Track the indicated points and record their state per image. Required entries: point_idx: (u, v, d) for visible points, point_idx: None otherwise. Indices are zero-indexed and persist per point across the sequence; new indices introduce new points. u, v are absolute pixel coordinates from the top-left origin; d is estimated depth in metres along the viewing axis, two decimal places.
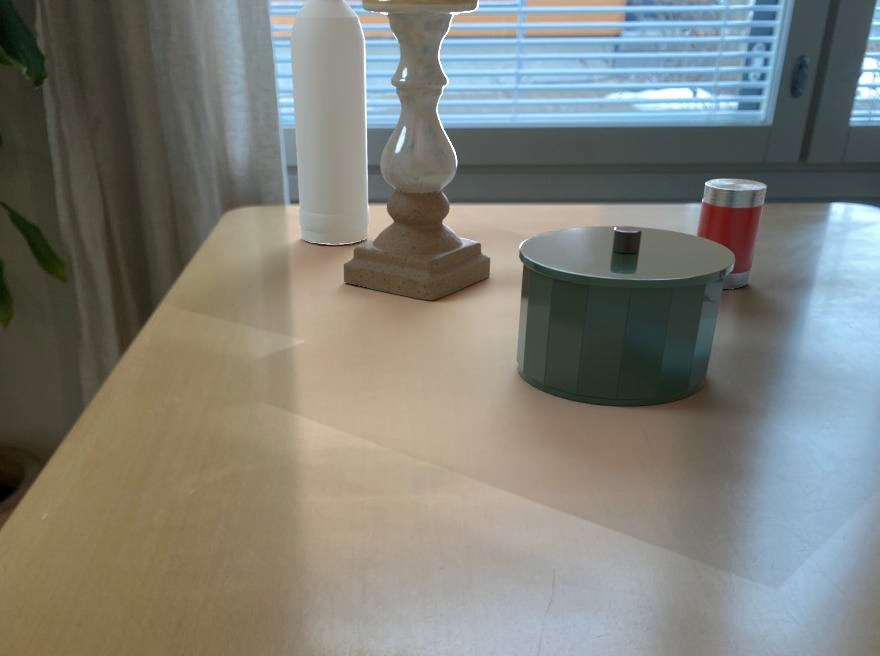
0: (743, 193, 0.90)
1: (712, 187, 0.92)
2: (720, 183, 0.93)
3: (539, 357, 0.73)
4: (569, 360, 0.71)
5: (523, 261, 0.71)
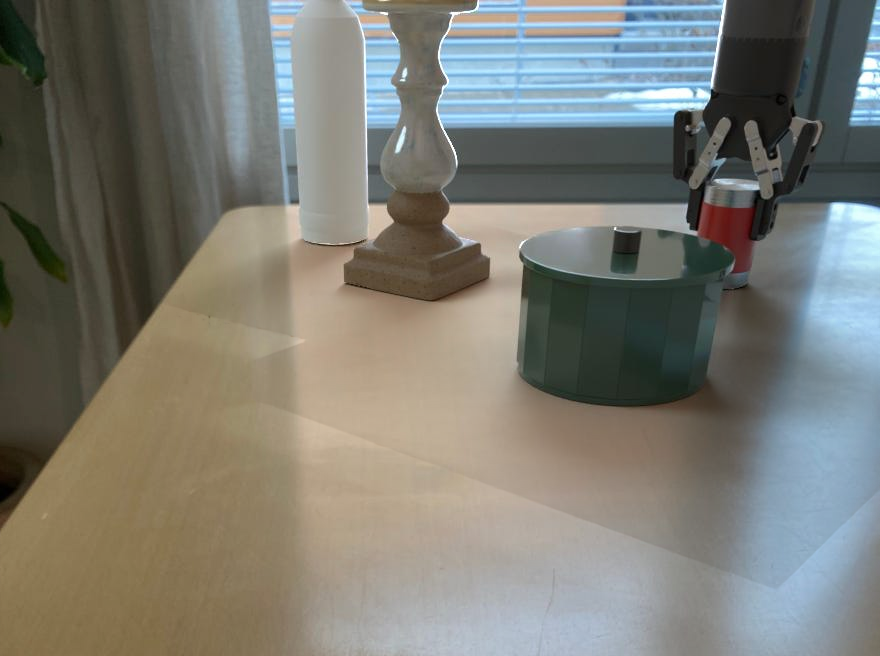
0: (743, 192, 0.90)
1: (712, 187, 0.92)
2: (720, 183, 0.93)
3: (539, 357, 0.73)
4: (569, 360, 0.71)
5: (523, 261, 0.71)
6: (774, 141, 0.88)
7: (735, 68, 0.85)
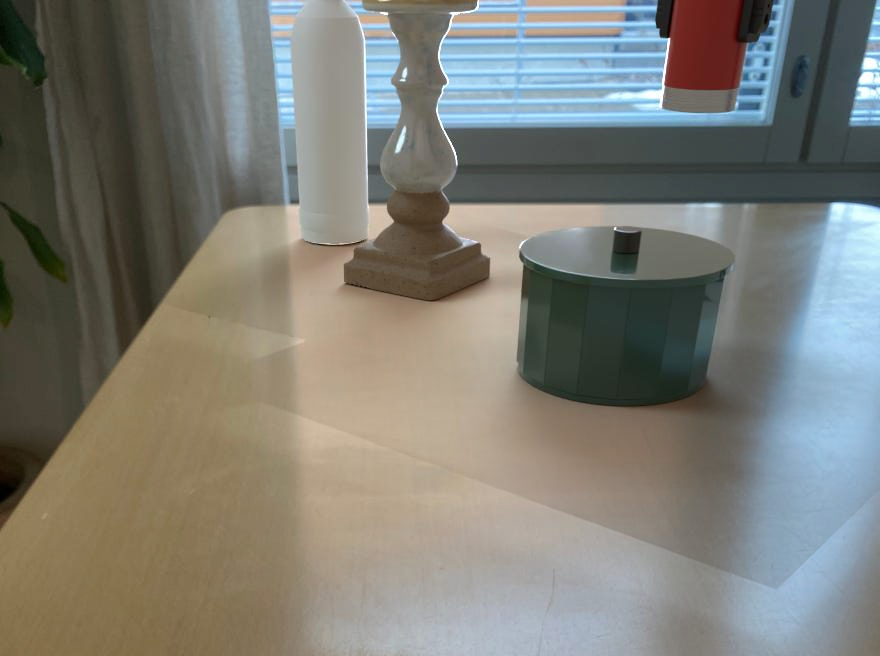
0: None
1: None
2: None
3: (539, 357, 0.73)
4: (569, 360, 0.71)
5: (523, 261, 0.71)
6: None
7: None
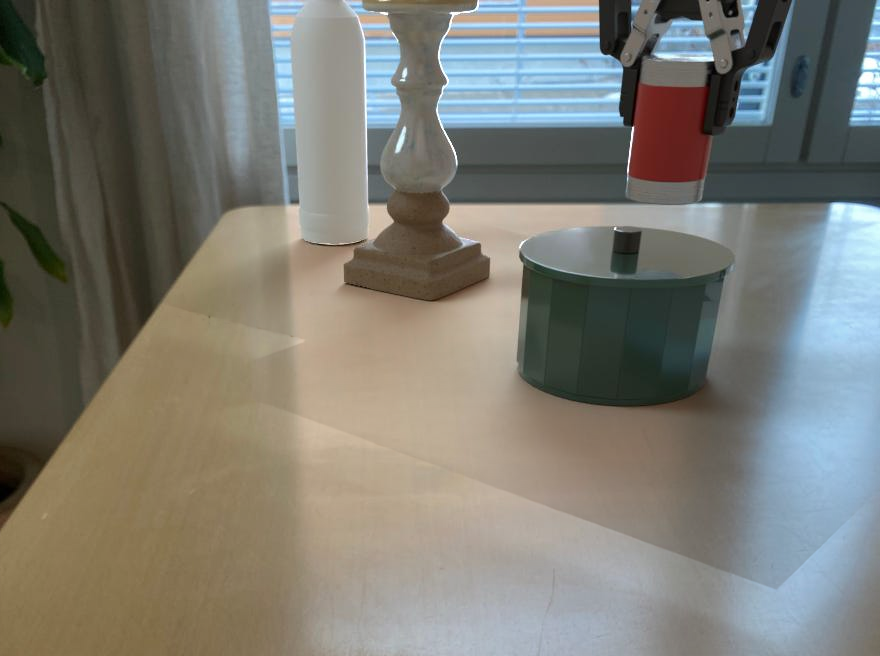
0: (691, 65, 0.66)
1: (650, 60, 0.67)
2: (662, 57, 0.68)
3: (539, 357, 0.73)
4: (569, 360, 0.71)
5: (523, 261, 0.71)
6: None
7: None
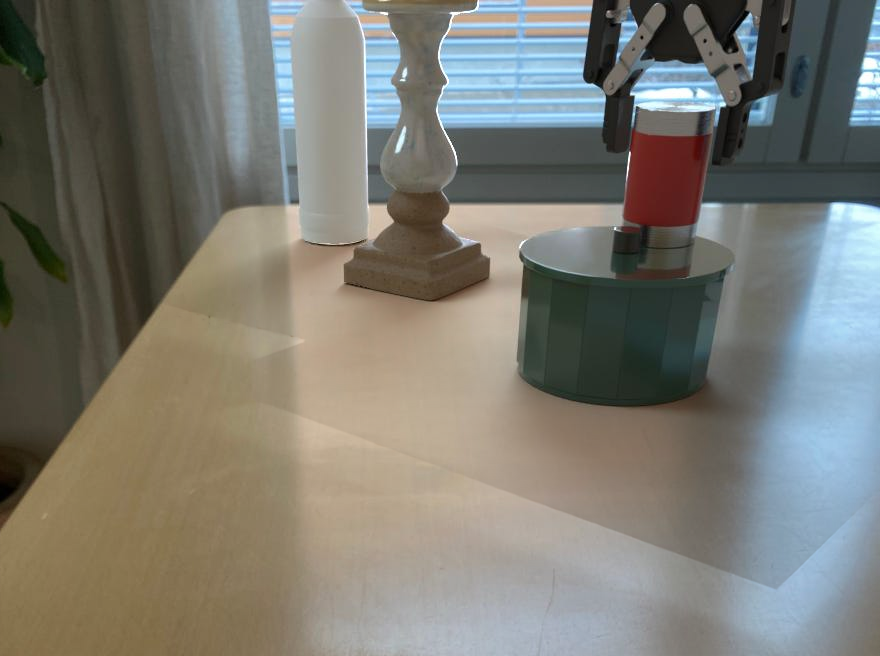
0: (683, 115, 0.67)
1: (643, 109, 0.69)
2: (655, 105, 0.70)
3: (539, 357, 0.73)
4: (569, 360, 0.71)
5: (523, 261, 0.71)
6: (724, 34, 0.65)
7: None
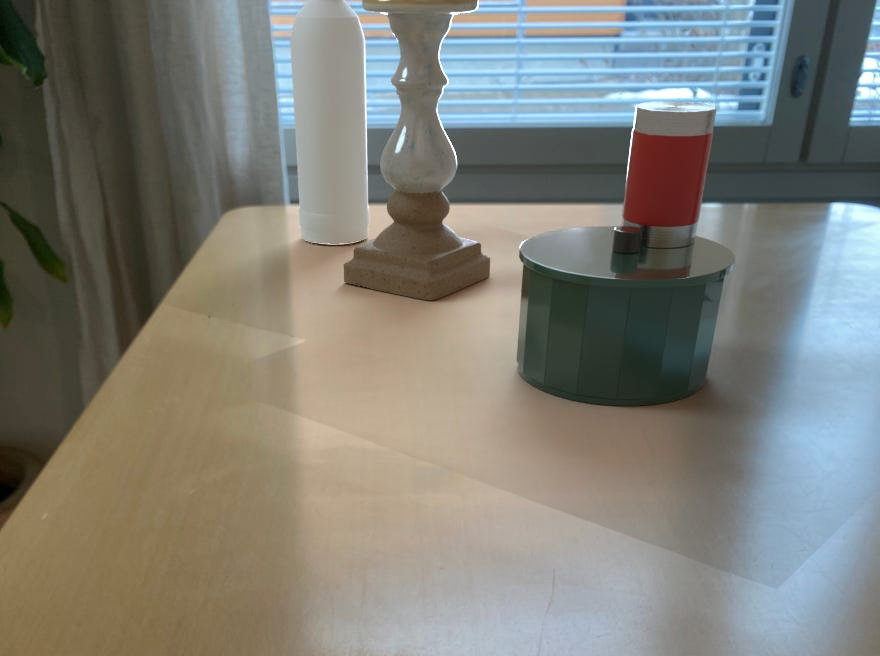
0: (683, 115, 0.67)
1: (643, 109, 0.69)
2: (655, 105, 0.70)
3: (539, 357, 0.73)
4: (569, 360, 0.71)
5: (523, 261, 0.71)
6: None
7: None
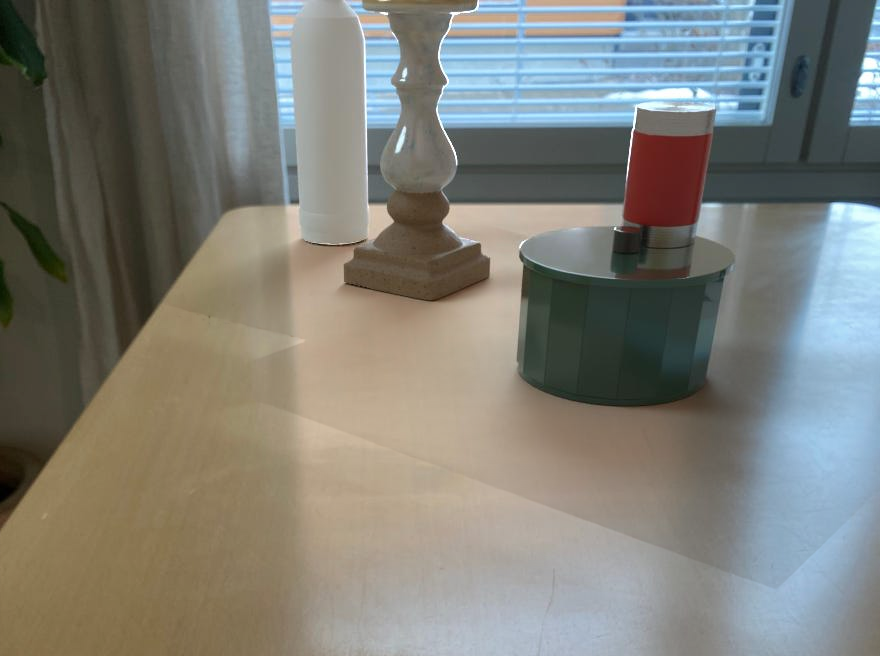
0: (683, 115, 0.67)
1: (643, 109, 0.69)
2: (655, 105, 0.70)
3: (539, 357, 0.73)
4: (569, 360, 0.71)
5: (523, 261, 0.71)
6: None
7: None
